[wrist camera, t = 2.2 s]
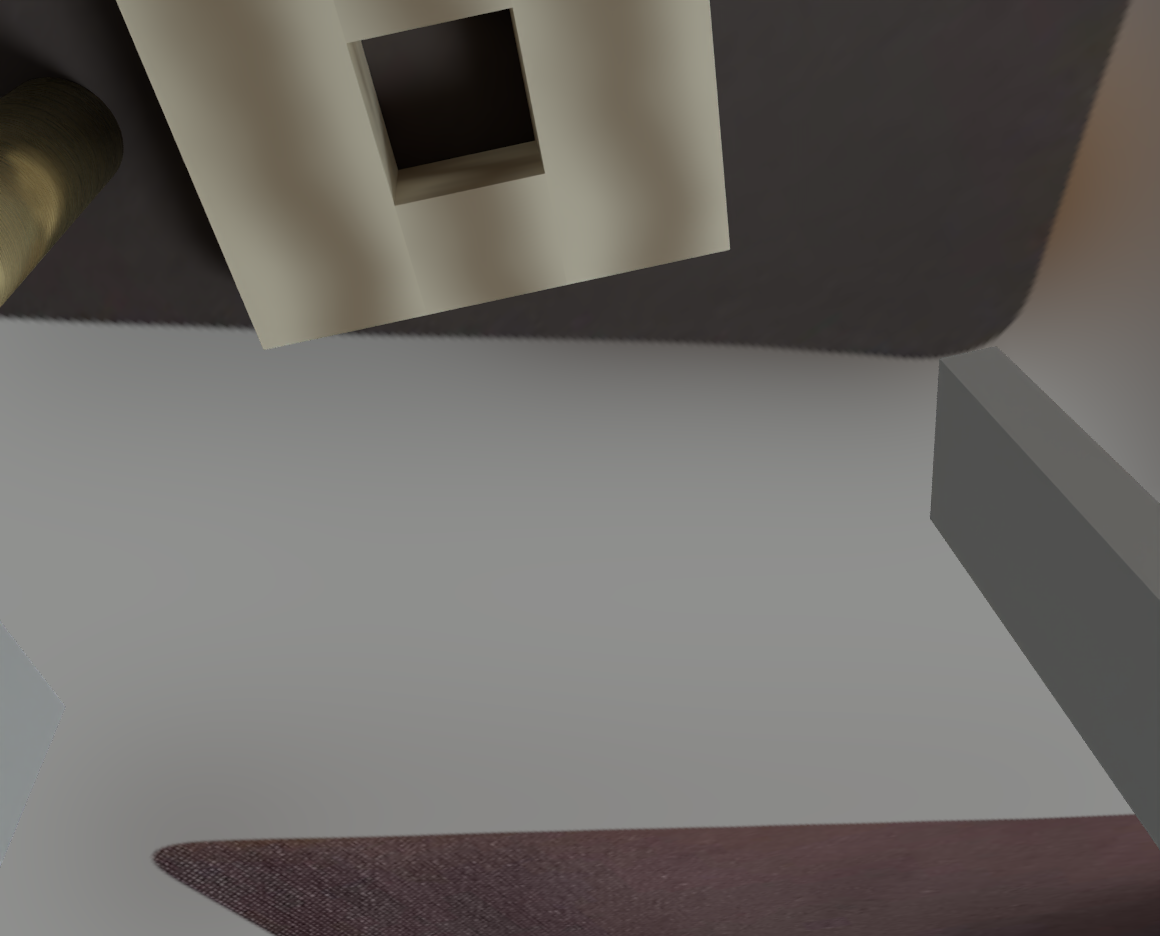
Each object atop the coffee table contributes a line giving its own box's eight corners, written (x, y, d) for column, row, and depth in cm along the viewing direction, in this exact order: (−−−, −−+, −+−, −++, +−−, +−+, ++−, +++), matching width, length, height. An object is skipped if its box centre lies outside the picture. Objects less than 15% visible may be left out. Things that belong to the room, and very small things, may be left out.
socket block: (277, 304, 39) (263, 350, 36) (123, -82, 31) (87, -68, 27) (705, 212, 39) (730, 249, 36) (665, -198, 31) (693, -198, 27)
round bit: (37, 200, 35) (-113, 351, 26) (-21, 90, 33) (-211, 210, 23) (142, 177, 35) (31, 320, 26) (92, 66, 33) (-52, 176, 23)
